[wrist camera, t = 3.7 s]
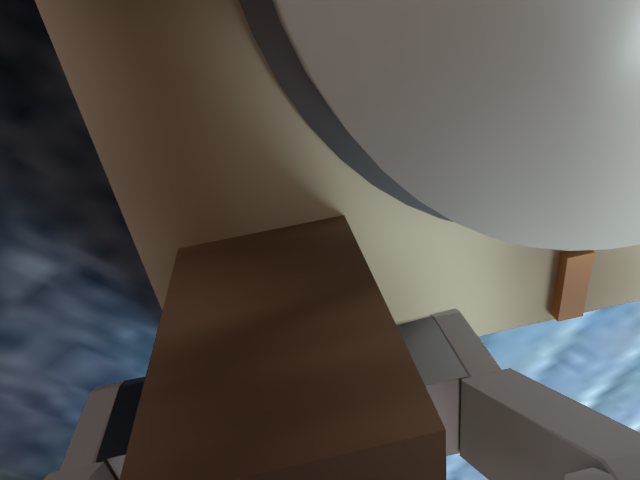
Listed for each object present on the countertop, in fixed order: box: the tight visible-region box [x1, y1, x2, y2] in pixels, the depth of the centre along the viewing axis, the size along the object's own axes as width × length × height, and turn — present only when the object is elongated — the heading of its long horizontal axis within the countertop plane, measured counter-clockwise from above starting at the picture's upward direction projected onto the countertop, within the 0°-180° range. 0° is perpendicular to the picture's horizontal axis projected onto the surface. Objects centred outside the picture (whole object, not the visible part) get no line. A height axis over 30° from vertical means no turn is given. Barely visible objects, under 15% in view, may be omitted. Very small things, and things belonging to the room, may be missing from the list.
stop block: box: [119, 215, 446, 480], centre depth 8 cm, size 4×4×6 cm
